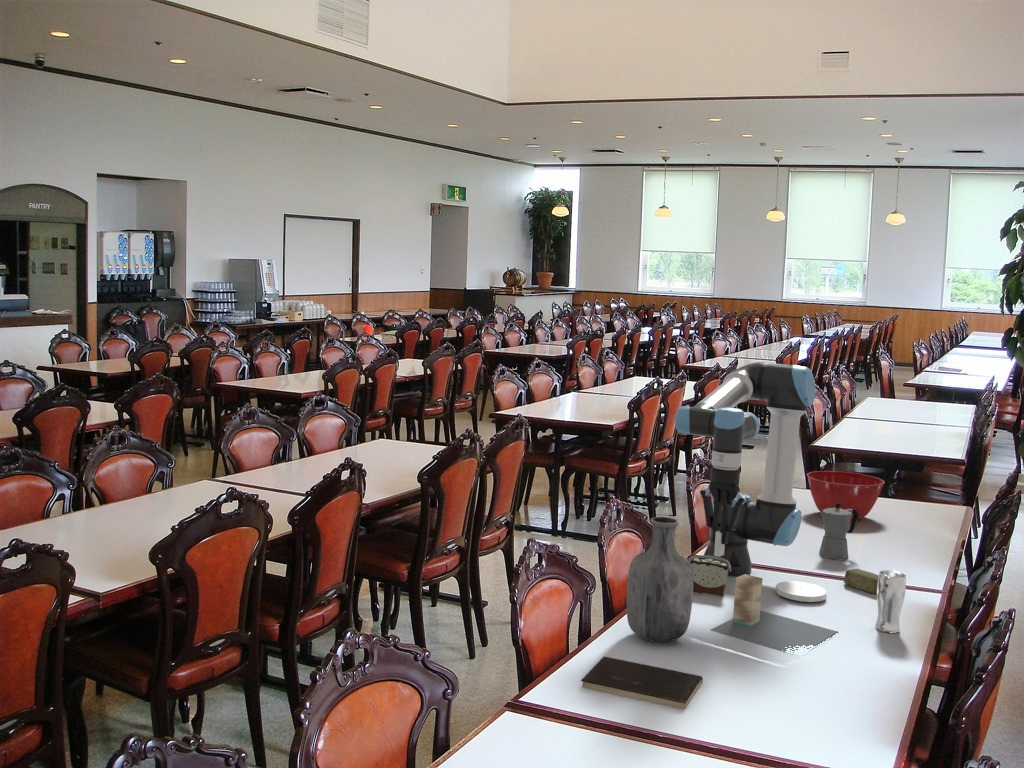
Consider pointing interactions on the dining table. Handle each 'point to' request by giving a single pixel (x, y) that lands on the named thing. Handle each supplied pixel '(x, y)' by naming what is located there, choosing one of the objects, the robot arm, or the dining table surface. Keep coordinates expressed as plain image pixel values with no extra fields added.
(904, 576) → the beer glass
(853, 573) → the stone block
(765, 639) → the mat
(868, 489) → the mixing bowl
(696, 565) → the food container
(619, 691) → the hardcover book
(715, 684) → the dining table surface
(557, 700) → the dining table surface
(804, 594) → the plastic lid
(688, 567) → the vase
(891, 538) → the dining table surface
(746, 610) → the maple block
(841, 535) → the coffeepot
